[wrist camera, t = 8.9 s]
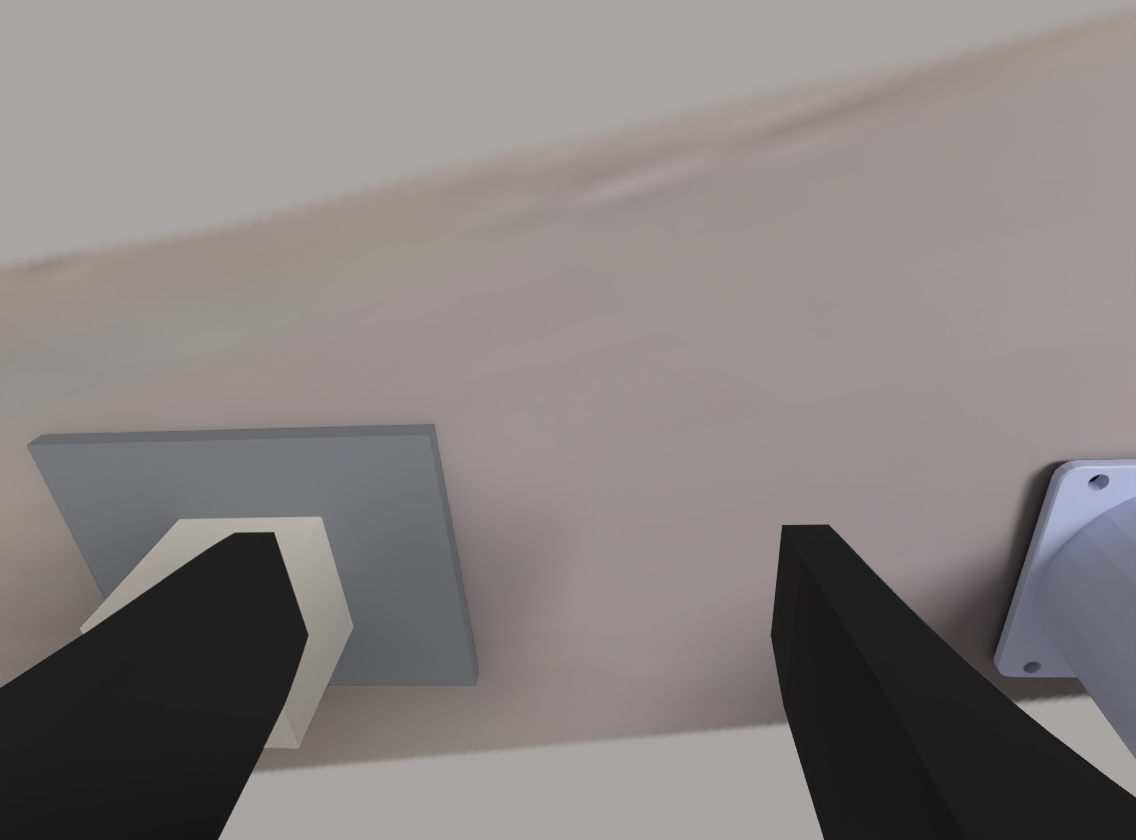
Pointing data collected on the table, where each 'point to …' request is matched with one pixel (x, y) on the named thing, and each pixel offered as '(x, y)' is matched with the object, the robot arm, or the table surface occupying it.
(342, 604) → the cream cube
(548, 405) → the table surface
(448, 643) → the gray mat
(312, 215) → the table surface
